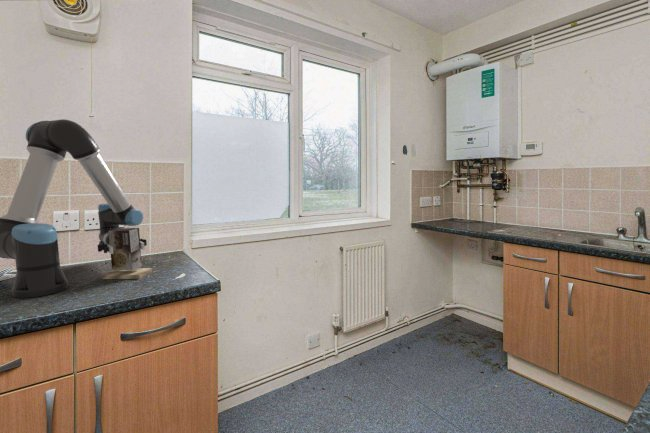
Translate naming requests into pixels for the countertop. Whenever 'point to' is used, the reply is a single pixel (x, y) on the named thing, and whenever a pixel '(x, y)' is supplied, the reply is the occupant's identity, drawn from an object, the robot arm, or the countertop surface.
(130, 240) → the coffee box
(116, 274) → the birch board
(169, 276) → the countertop surface
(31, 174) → the robot arm
